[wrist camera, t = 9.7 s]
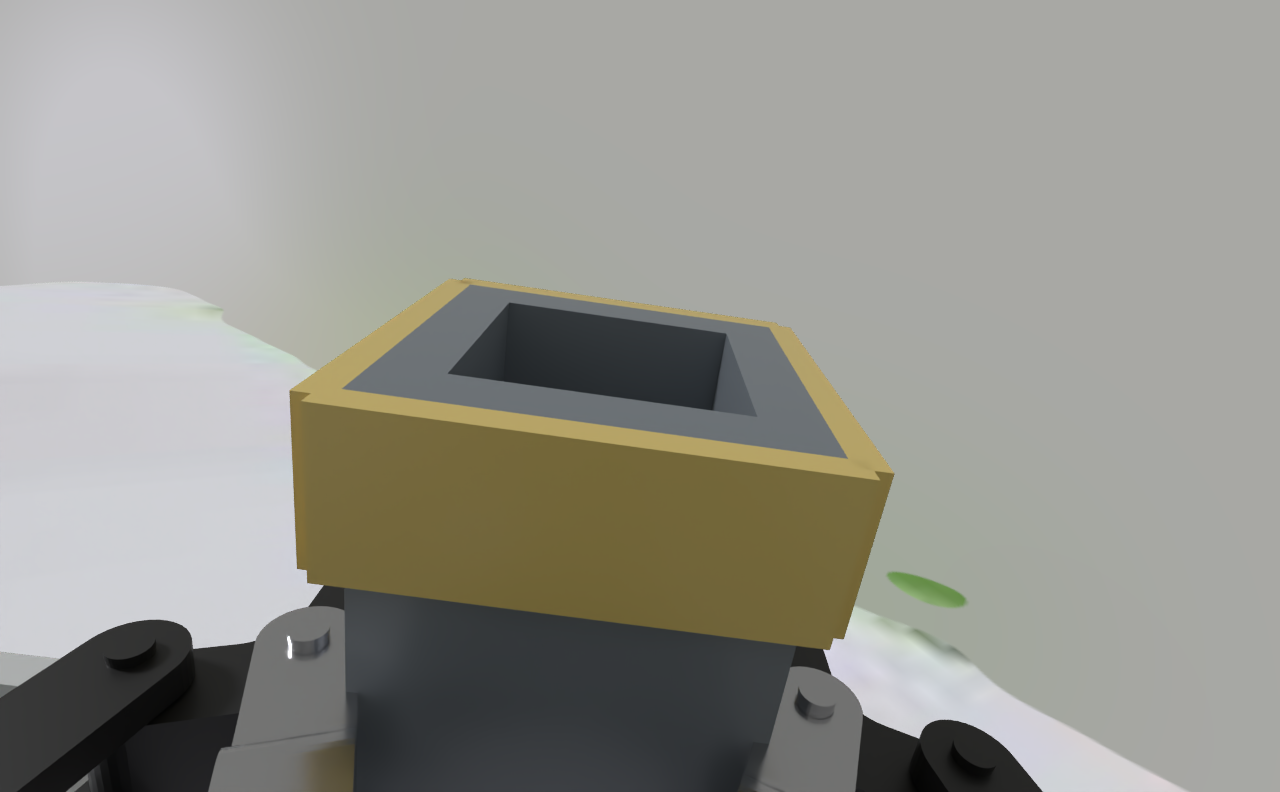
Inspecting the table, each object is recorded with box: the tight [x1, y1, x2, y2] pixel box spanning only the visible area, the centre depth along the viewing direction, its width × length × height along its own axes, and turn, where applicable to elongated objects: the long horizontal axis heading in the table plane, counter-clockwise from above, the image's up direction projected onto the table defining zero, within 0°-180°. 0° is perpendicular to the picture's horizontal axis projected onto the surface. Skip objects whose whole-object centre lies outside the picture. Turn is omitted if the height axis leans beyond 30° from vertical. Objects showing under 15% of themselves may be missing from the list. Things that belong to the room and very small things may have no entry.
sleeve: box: [290, 278, 894, 792], centre depth 11 cm, size 6×6×12 cm
